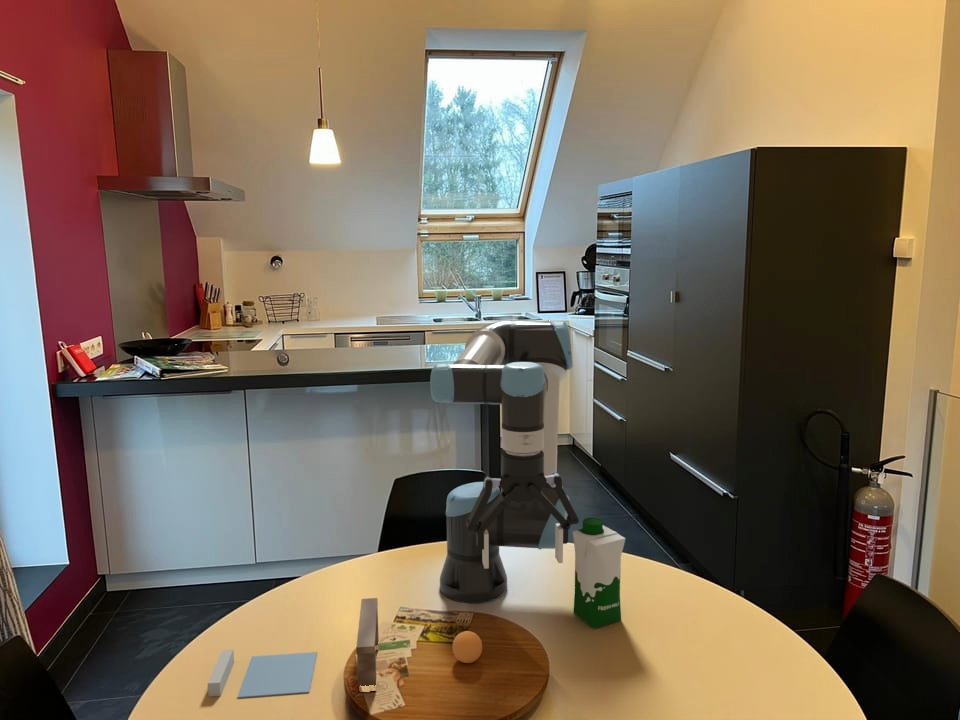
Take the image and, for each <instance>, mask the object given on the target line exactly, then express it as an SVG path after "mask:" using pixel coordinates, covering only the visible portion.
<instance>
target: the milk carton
mask: <svg viewBox="0 0 960 720" xmlns="http://www.w3.org/2000/svg"><path fill="white" fill-rule="evenodd" d="M572 537H573V538H572V539H573V545H574V559H575V560H574V596H573V597H574V599H573V614H574V615H576V616H577V617H578V618H579V619H581V620H582V621H583V622H584V623H586V624H587V625H588V626H590V627H591V628H592V629H598V628H600V627H604V626H607V625H611V624H613V623H616V622H620V621H622V610H621V609H622V608H621V568H622V567H621V563H622V561H621V560H622V554H623V550H624V546H625V543H626V537H624V536H622V535H621V534H619V533H618V532H617V531H614V530H613V529H611V528H609V527H608V526H605V525H603V520H602V519H601V518H596V517H586V518H584V519H583V520H582V528H581V529H577V530H574V531H573V530H572Z"/></svg>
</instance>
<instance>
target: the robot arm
mask: <svg viewBox="0 0 960 720" xmlns="http://www.w3.org/2000/svg"><path fill="white" fill-rule="evenodd" d="M573 366H574V365H573V355H572V343H571V336H570V329H569V326H568V324H567V323H566V322H565V321H561V320H560V321H559V320H551V319H548V320H512V319H511V320H508V319H506V320H499V321H496V322H492V323H489V324H487V325H484V326H483V327H480V328H478V329H477V330H476V331H474V332H473V333H472V334H470V336H469V337H468V338H467V340H466V343H465V345H464V349H463V351H462V352H461V353H460V355H459V356H458V357H457V358H456V359H455V361H454V362H453V363H449V362H446V363H438V364H435V365H434V366H433V367H432V369H431V373H430V377H429V378H430V381H429V383H430V385H429V386H430V395H431V396H430V397H431V398H432V400H433V401H434V402H436V403H443V404H449V405H452V404H460V405H461V404H465V405H468V404H469V405H470V404H473V405H474V404H475V405H501V448H502V452H501V474H500V477H499V478H495V477H494V478H493V477H492V478H491V476H489V475H486V476H484V477H483V481H475V482H474V481H473V482H470V483H465V484H461V485H459V486H457V487H456V488H454V489H452V490H451V491H450V492H449V493H448V495H447V498H446V509H445V516H446V550H447V551H446V557H445V560H444V563H443V567H442V569H441V572H440V576H439V589H440V592H441V593H442V595H444V596H445V597H447V598H448V599H450V600H452V601H456V602H460V603H468V604H477V603H486V602H490V601H493V600H496V599H499V598H500V597H502V596H503V594H505V593H506V591H507V588H508V576H507V572H506V570H505V567H504V564H503V560H502V558H501V555H500V547H507V548H508V547H509V548H524V549H525V548H526V549H538V550H543V549H549V550H551V549H554V558H555V559H556V561H557V563H558V564H563V563H564V545H566V544H568V542H569V530H570V528H571V526H572V525H577V524H579V521H580V520H579V517H578V515H577V514H576V512H575V510H574V508H573V506H572V503H571V502H570V496H569V495H567V493H565V491H564V487H563V481H562V477H561V475H560V474H559V473H558V472H557V471H558V470H557V468H558V467H557V466H558V445H559V443H558V442H559V441H558V439H559V437H558V436H559V411H560V409H559V408H560V407H559V406H560V383H561V381H563V379H565V378H566V376H567V371H569V370H571V369H573ZM499 486H500V487H499ZM500 488H501V489H502V491H501V489H500Z"/></svg>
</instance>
